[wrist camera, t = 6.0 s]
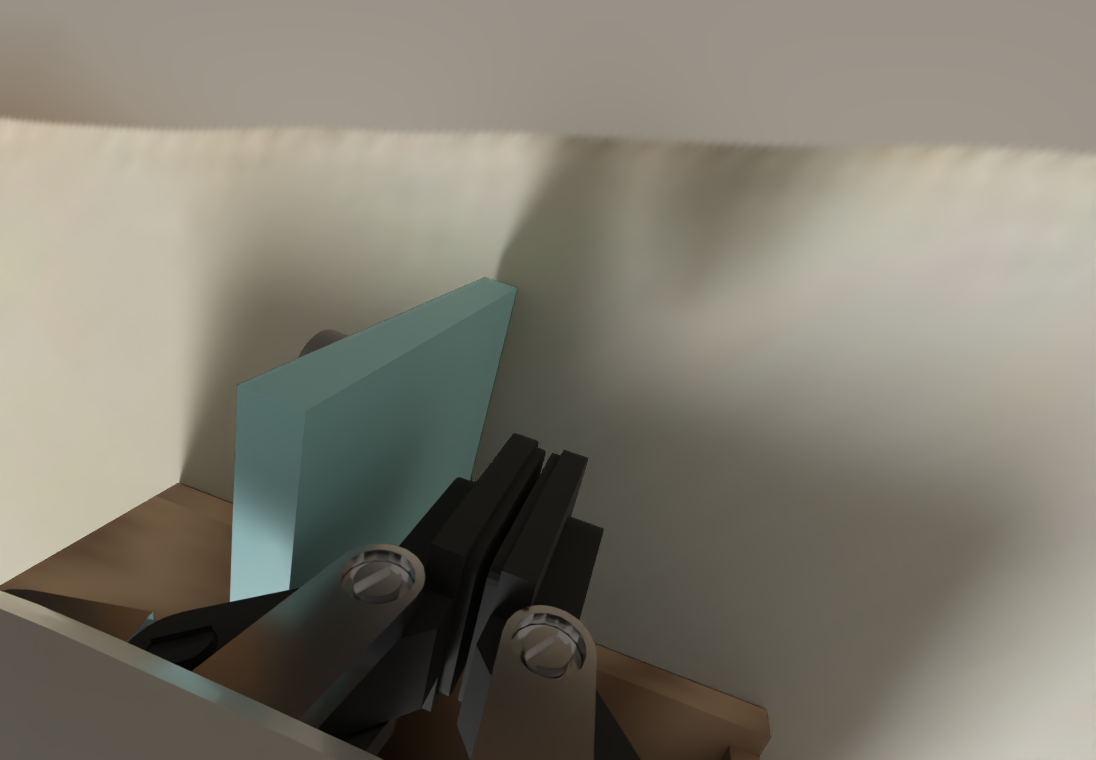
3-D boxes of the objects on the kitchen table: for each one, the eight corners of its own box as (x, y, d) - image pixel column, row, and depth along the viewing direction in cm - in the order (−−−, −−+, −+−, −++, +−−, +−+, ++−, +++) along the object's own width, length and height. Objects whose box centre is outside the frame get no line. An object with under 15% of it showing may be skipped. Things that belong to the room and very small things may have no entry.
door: (445, 264, 15) (158, 354, 7) (517, 288, 15) (304, 411, 7) (388, 571, 20) (173, 844, 12) (441, 594, 19) (260, 890, 11)
